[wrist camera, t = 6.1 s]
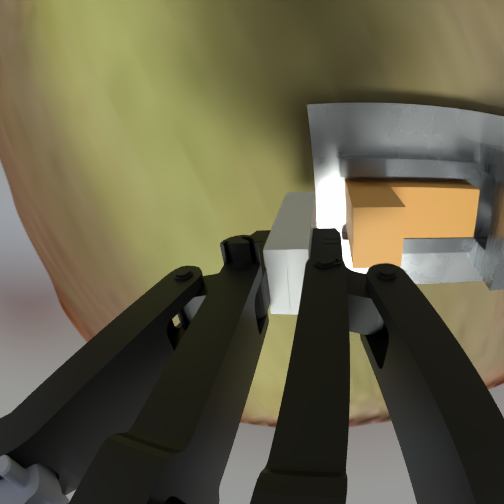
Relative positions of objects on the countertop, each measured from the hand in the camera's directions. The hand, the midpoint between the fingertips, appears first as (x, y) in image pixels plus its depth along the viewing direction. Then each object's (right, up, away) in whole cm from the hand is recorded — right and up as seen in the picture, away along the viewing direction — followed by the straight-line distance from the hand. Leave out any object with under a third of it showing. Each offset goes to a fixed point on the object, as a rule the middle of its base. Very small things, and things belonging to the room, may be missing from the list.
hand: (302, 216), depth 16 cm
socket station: (+13, +2, 0) cm, 13 cm away
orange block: (+7, +1, 0) cm, 7 cm away
